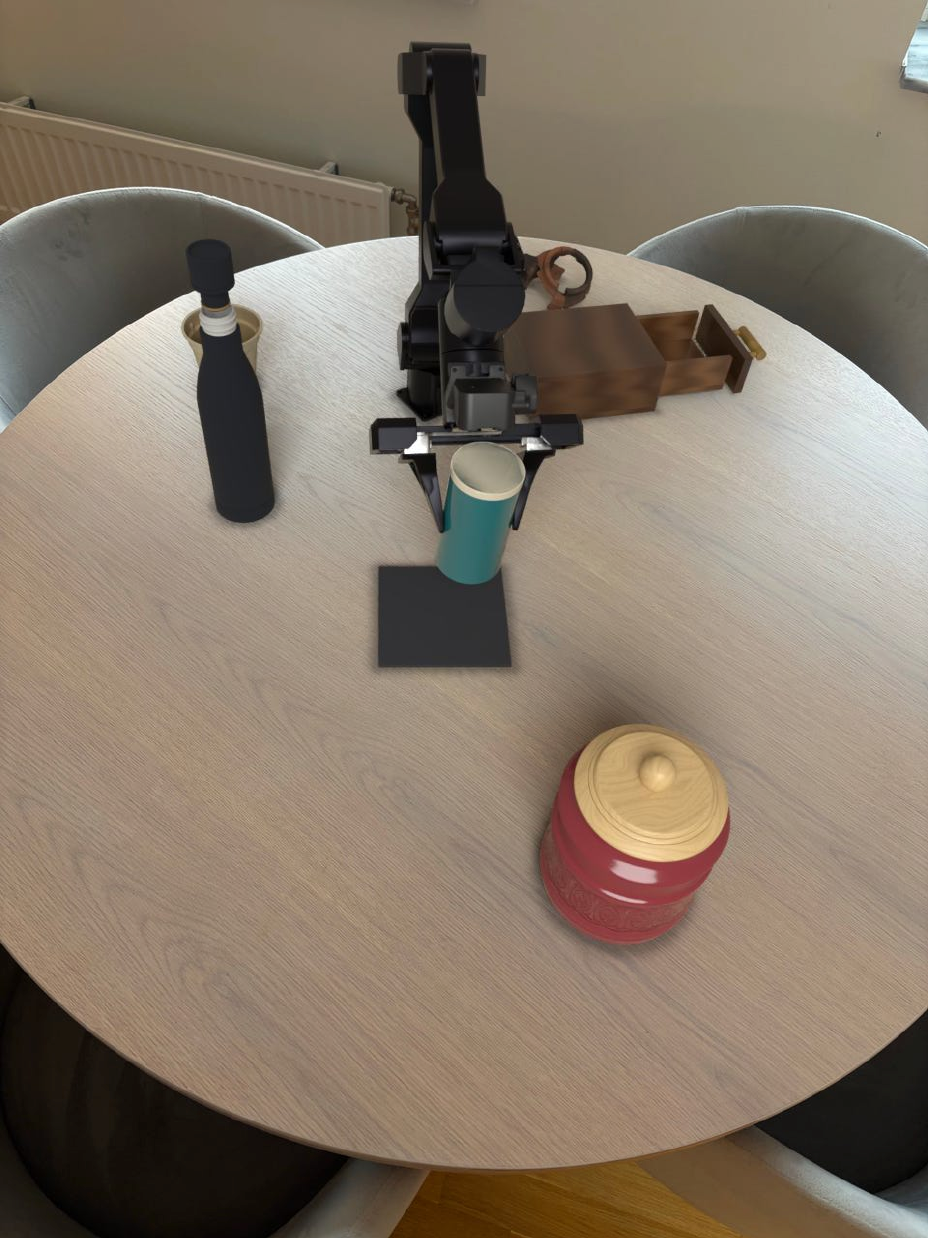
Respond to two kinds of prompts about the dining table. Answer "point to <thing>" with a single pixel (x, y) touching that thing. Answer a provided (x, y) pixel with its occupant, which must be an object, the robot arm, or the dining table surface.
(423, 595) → the coaster
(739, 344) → the drawer
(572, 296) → the brown ring sculpture
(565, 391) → the cabinet
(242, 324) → the flower pot
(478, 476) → the tumbler
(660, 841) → the kitchen canister
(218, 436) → the black water bottle
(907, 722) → the dining table surface
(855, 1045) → the dining table surface
